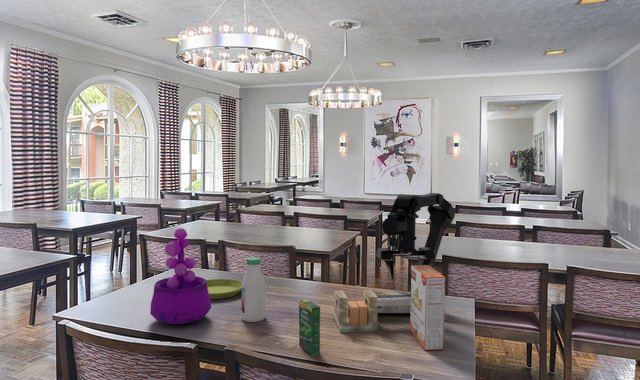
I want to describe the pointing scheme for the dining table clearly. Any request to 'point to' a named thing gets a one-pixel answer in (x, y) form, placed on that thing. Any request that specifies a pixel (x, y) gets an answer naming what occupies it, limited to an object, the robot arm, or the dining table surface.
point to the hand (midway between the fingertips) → (405, 278)
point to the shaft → (394, 301)
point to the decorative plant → (180, 288)
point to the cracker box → (427, 307)
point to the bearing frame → (341, 312)
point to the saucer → (223, 288)
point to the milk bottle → (253, 292)
